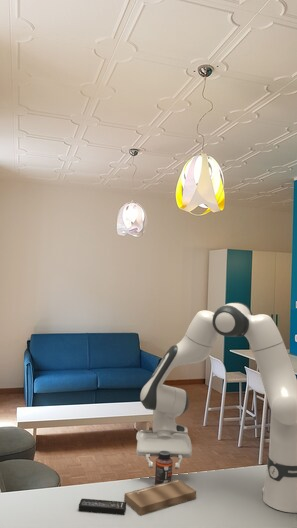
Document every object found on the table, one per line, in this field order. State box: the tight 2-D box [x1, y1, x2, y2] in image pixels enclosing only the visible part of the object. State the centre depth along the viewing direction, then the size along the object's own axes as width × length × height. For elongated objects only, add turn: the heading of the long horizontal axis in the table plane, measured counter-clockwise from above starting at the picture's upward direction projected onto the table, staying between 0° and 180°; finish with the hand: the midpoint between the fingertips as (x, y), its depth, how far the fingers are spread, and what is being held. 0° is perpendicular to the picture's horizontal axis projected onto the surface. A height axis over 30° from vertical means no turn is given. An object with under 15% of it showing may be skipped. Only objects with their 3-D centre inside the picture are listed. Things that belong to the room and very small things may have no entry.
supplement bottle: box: [154, 451, 174, 485], centre depth 160 cm, size 6×6×11 cm
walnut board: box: [123, 478, 197, 516], centre depth 149 cm, size 22×10×3 cm, turn 123°
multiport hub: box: [78, 498, 127, 516], centre depth 142 cm, size 4×14×2 cm, turn 86°
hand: (164, 468), depth 160 cm, fingers open, 8 cm apart
